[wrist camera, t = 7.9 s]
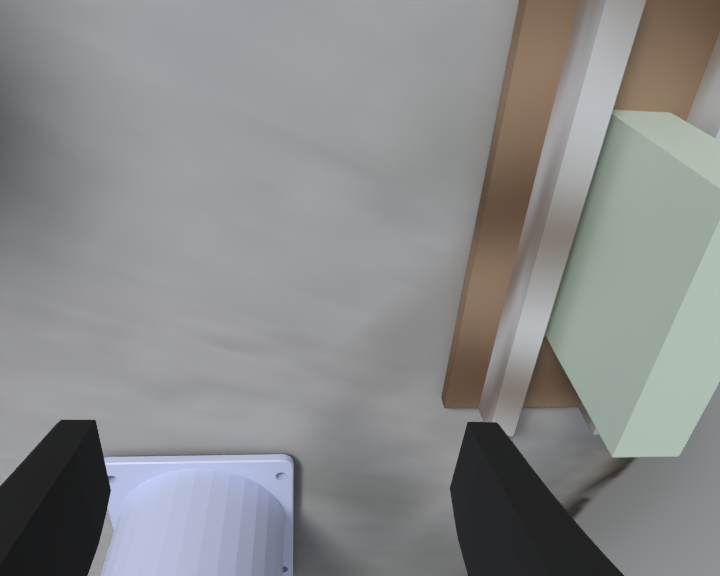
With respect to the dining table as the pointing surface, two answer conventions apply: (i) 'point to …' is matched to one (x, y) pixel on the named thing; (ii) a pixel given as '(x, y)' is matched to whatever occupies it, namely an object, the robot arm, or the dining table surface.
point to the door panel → (644, 286)
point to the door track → (562, 176)
